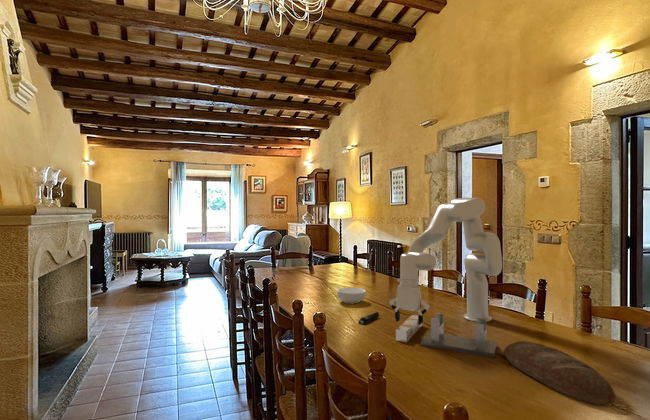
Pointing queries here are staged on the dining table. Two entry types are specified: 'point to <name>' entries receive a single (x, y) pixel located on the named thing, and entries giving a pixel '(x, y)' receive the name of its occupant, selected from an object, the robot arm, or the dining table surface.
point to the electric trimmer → (368, 318)
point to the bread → (560, 372)
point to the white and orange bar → (407, 329)
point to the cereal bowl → (351, 295)
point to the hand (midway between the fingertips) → (408, 322)
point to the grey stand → (459, 339)
